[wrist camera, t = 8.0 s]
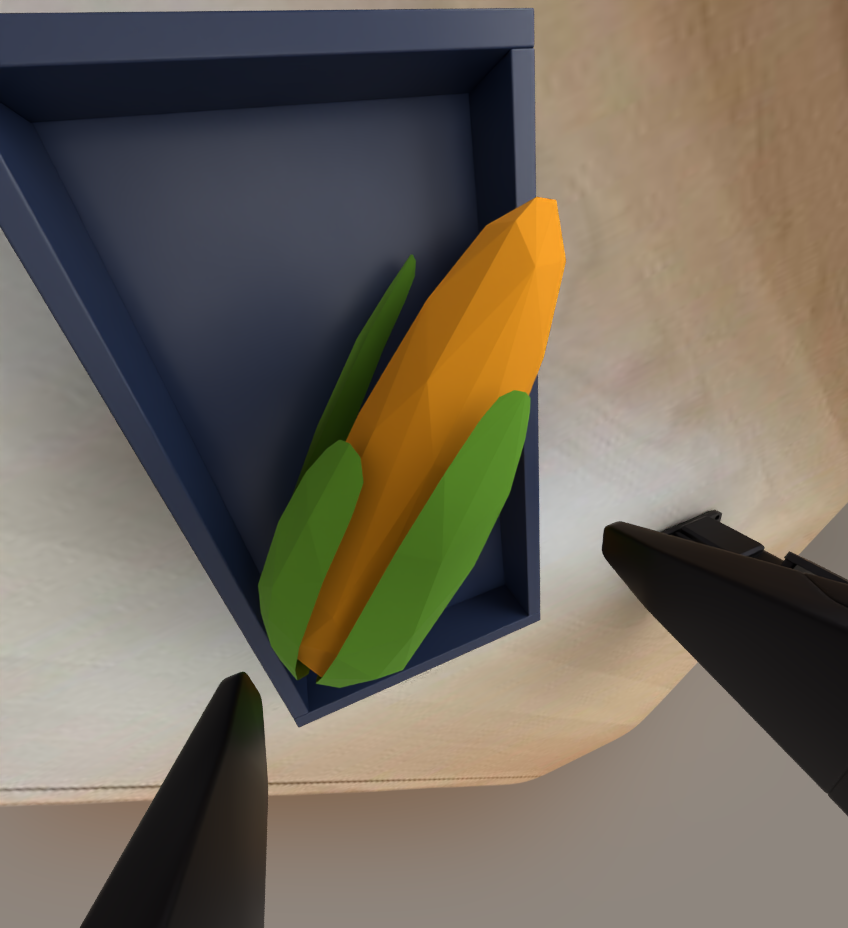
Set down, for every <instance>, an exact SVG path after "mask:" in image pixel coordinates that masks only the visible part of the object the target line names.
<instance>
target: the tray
mask: <svg viewBox="0 0 848 928" xmlns="http://www.w3.org/2000/svg"><path fill="white" fill-rule="evenodd" d="M533 47H534V9H533V8H490V9H390V10H289V11H188V12H88V13H0V227H1V229H2V231H3V232H4V234H5V236H6V237H7V239H8V241H9V242H10V244H11V246H12V248H13V249H14V251H15V253H16V254H17V256H18V258H19V259H20V261H21V263H22V264H23V266H24V268H25V269H26V271H27V273H28V274H29V276H30V278H31V279H32V281H33V283H34V284H35V286H36V288H37V289H38V291H39V293H40V294H41V296H42V298H43V299H44V301H45V303H46V304H47V306H48V308H49V310H50V311H51V313H52V315H53V316H54V318H55V320H56V321H57V323H58V325H59V326H60V328H61V330H62V331H63V333H64V335H65V336H66V338H67V340H68V341H69V343H70V345H71V346H72V348H73V350H74V351H75V353H76V355H77V356H78V358H79V360H80V361H81V363H82V365H83V366H84V368H85V370H86V372H87V373H88V375H89V377H90V378H91V380H92V382H93V383H94V385H95V387H96V388H97V390H98V392H99V393H100V395H101V397H102V398H103V400H104V402H105V403H106V405H107V407H108V408H109V410H110V412H111V413H112V415H113V417H114V418H115V420H116V422H117V423H118V425H119V427H120V428H121V430H122V432H123V434H124V435H125V437H126V439H127V440H128V442H129V444H130V445H131V447H132V449H133V450H134V452H135V454H136V455H137V457H138V459H139V460H140V462H141V464H142V465H143V467H144V469H145V470H146V472H147V474H148V475H149V477H150V479H151V480H152V482H153V484H154V485H155V487H156V489H157V490H158V492H159V494H160V496H161V497H162V499H163V501H164V502H165V504H166V506H167V507H168V509H169V511H170V512H171V514H172V516H173V517H174V519H175V521H176V522H177V524H178V526H179V527H180V529H181V531H182V532H183V534H184V536H185V537H186V539H187V541H188V542H189V544H190V546H191V547H192V549H193V551H194V552H195V554H196V556H197V557H198V559H199V561H200V563H201V564H202V566H203V568H204V569H205V571H206V573H207V574H208V576H209V578H210V579H211V581H212V583H213V584H214V586H215V588H216V589H217V591H218V593H219V594H220V596H221V598H222V599H223V601H224V603H225V604H226V606H227V608H228V609H229V611H230V613H231V614H232V616H233V618H234V619H235V621H236V623H237V625H238V626H239V628H240V630H241V631H242V633H243V635H244V636H245V638H246V640H247V641H248V643H249V645H250V646H251V648H252V650H253V651H254V653H255V655H256V656H257V658H258V660H259V661H260V663H261V665H262V666H263V668H264V670H265V671H266V673H267V675H268V676H269V678H270V680H271V681H272V683H273V685H274V687H275V688H276V690H277V692H278V693H279V695H280V697H281V698H282V700H283V702H284V703H285V705H286V707H287V708H288V710H289V712H290V713H291V715H292V717H293V718H294V721H295V722H296V724H297V726H298V727H301V726H303V725H306V724H308V723H310V722H312V721H315V720H317V719H319V718H321V717H324V716H326V715H328V714H330V713H333V712H335V711H337V710H339V709H342V708H344V707H346V706H348V705H351V704H353V703H355V702H357V701H360V700H362V699H364V698H366V697H369V696H371V695H373V694H375V693H378V692H380V691H382V690H384V689H386V688H389V687H391V686H393V685H395V684H398V683H400V682H402V681H404V680H407V679H409V678H411V677H413V676H416V675H418V674H420V673H422V672H425V671H427V670H429V669H431V668H434V667H436V666H438V665H440V664H443V663H445V662H447V661H449V660H452V659H454V658H456V657H458V656H461V655H463V654H465V653H467V652H470V651H472V650H474V649H476V648H479V647H481V646H483V645H485V644H487V643H490V642H492V641H494V640H496V639H499V638H501V637H503V636H505V635H508V634H510V633H512V632H514V631H517V630H519V629H521V628H523V627H526V626H528V625H530V624H532V623H535V622H537V621H539V620H540V549H539V450H538V373H537V376H536V378H535V381H534V384H533V386H532V389H531V391H530V394H529V397H530V414H529V420H528V426H527V432H526V438H525V442H524V445H523V449H522V452H521V456H520V459H519V463H518V466H517V469H516V473H515V476H514V480H513V483H512V487H511V490H510V493H509V495H508V497H507V500H506V502H505V504H504V506H503V508H502V510H501V512H500V514H499V516H498V518H497V520H496V522H495V524H494V526H493V528H492V530H491V532H490V535H489V537H488V539H487V541H486V543H485V545H484V547H483V549H482V551H481V553H480V555H479V557H478V559H477V561H476V563H475V565H474V567H473V568H472V570H471V571H470V573H469V574H468V576H467V577H466V579H465V580H464V581H463V583H462V584H461V586H460V587H459V589H458V590H457V592H456V593H455V595H454V596H453V597H452V599H451V600H450V602H449V603H448V605H447V606H446V608H445V609H444V611H443V612H442V614H441V615H440V616H439V618H438V619H437V621H436V622H435V624H434V625H433V627H432V628H431V630H430V631H429V632H428V634H427V635H426V637H425V638H424V640H423V641H422V643H421V644H420V646H419V647H418V649H417V650H416V651H415V653H414V654H413V656H412V657H411V659H410V660H409V662H408V663H407V665H406V666H405V668H404V669H403V670H402V671H399V672H396V673H393V674H390V675H387V676H384V677H381V678H378V679H375V680H371V681H367V682H363V683H358V684H354V685H350V686H345V687H341V688H338V687H332V686H326V685H321V684H316V680H317V676H318V675H317V674H316V673H315V672H314V671H312V670H311V669H310V671H309V674H308V675H306V676H305V677H303V678H301V679H300V680H298V681H297V680H296V678H295V677H294V676H293V675H292V674H291V672H290V671H289V670H288V669H287V668H286V666H285V665H284V664H283V663H282V661H281V660H280V659H279V657H278V656H277V654H276V653H275V651H274V650H273V648H272V647H271V644H270V641H269V638H268V634H267V631H266V628H265V625H264V621H263V618H262V615H261V608H260V598H259V588H258V584H259V580H260V577H261V574H262V571H263V568H264V565H265V562H266V559H267V556H268V552H269V549H270V546H271V543H272V540H273V537H274V534H275V531H276V528H277V525H278V522H279V520H280V518H281V516H282V514H283V512H284V511H285V509H286V507H287V505H288V503H289V502H290V500H291V498H292V495H293V492H294V489H295V486H296V484H297V481H298V478H299V475H300V473H301V470H302V467H303V464H304V461H305V459H306V456H307V453H308V450H309V448H310V445H311V442H312V439H313V436H314V434H315V431H316V428H317V426H318V424H319V421H320V419H321V417H322V415H323V413H324V410H325V408H326V406H327V404H328V402H329V399H330V397H331V395H332V393H333V390H334V388H335V386H336V384H337V382H338V379H339V377H340V375H341V373H342V370H343V368H344V366H345V364H346V362H347V359H348V357H349V355H350V353H351V350H352V348H353V346H354V344H355V342H356V339H357V337H358V336H359V334H360V333H361V331H362V329H363V328H364V326H365V325H366V323H367V321H368V320H369V318H370V316H371V315H372V313H373V312H374V310H375V308H376V307H377V305H378V304H379V302H380V300H381V299H382V297H383V296H384V294H385V292H386V291H387V289H388V287H389V286H390V284H391V283H392V282H393V280H394V279H395V277H396V276H397V274H398V273H399V271H400V270H401V268H402V267H403V265H404V264H405V262H406V261H407V259H408V258H409V256H410V255H413V256H414V258H415V260H416V267H415V277H414V280H413V282H412V285H411V287H410V290H409V293H408V295H407V298H406V300H405V303H404V305H403V307H402V309H401V311H400V314H399V316H398V318H397V320H396V322H395V325H394V327H393V329H392V331H391V334H390V336H389V338H388V340H387V342H386V345H385V347H384V349H383V352H382V354H381V357H380V359H379V362H378V364H377V367H376V369H375V372H374V374H373V377H372V379H371V382H370V384H369V387H368V389H367V392H366V394H365V397H364V399H363V402H362V404H361V407H360V409H359V412H360V411H361V409H362V407H363V406H364V404H365V402H366V401H367V399H368V397H369V396H370V394H371V392H372V391H373V389H374V387H375V386H376V384H377V382H378V381H379V379H380V377H381V376H382V374H383V372H384V370H385V369H386V367H387V365H388V364H389V362H390V360H391V359H392V357H393V355H394V354H395V352H396V350H397V349H398V347H399V345H400V344H401V342H402V340H403V339H404V337H405V335H406V334H407V332H408V330H409V329H410V327H411V325H412V324H413V322H414V320H415V319H416V317H417V315H418V314H419V312H420V310H421V309H422V307H423V305H424V304H425V302H426V300H427V299H428V298H429V296H430V295H431V294H432V293H433V291H434V290H435V289H436V288H437V286H438V285H439V284H440V283H441V281H442V280H443V279H444V278H445V276H446V275H447V274H448V273H449V271H450V270H451V269H452V268H453V266H454V265H455V264H456V263H457V261H458V260H459V259H460V258H461V256H462V255H463V254H464V253H465V251H466V250H467V249H468V248H469V246H470V245H471V244H472V243H473V241H474V240H475V239H476V238H477V236H478V235H479V234H480V233H481V231H482V230H483V229H484V228H485V226H486V225H488V224H489V223H491V222H493V221H495V220H497V219H498V218H500V217H502V216H504V215H505V214H507V213H509V212H511V211H512V210H514V209H516V208H518V207H520V206H521V205H523V204H525V203H527V202H528V201H530V200H532V199H534V198H535V197H536V154H535V56H534V48H533ZM359 412H358V414H359ZM358 414H357V416H358ZM356 418H357V417H356ZM355 420H356V419H355ZM354 423H355V422H354ZM353 425H354V424H353Z"/></svg>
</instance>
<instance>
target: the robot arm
mask: <svg viewBox="0 0 848 928" xmlns="http://www.w3.org/2000/svg"><path fill="white" fill-rule="evenodd" d="M721 516H722V513H721V512H719V511H717V510H713V511H710V512H708V513H705V514H703V515H701V516H698V517H696V518H693V519H691V520H689V521H686V522H684V523H681V524H679V525H677V526H674V527H672V528H670V529H667V530H665V531H662V532H658V531H654V530H651V529H647V528H643V527H640V526H636V525H633V524H629V523H625V522H621V521H619V522H615V523H613V524H610V525H608V526H606V527H605V529H604V534H603V544H602V552H603V555H604V557H605V559H606V560H607V561H608V563H609V564H610V565H611V566H612V568H613V569H614V570H615V571H616V572H617V574H618V575H619V576H620V577H621V579H622V580H623V581H624V582H625V584H626V585H627V586H628V587H629V588H630V590H631V591H632V592H633V593H634V595H635V596H636V597H637V598H638V600H639V601H640V602H641V603H642V604H643V605H644V607H645V608H646V609H647V610H648V611H649V612H650V613H651V614H652V615H653V616H654V617H655V618H656V619H657V620H658V621H659V622H660V623H661V624H662V625H663V626H664V627H665V629H666V630H667V631H668V632H669V633H670V634H671V635H672V636H673V637H674V638H675V639H676V640H677V641H678V642H679V643H680V644H681V645H682V646H683V647H684V648H685V649H686V650H687V651H688V652H689V653H690V654H691V655H692V656H693V657H694V658H695V659H696V660H697V661H698V662H699V663H700V664H701V665H702V666H703V668H705V670H706V671H707V672H708V673H709V674H710V675H711V676H712V677H713V678H714V679H715V680H716V681H717V682H718V683H719V684H720V685H721V686H722V687H723V688H724V689H725V690H726V691H727V692H728V693H729V694H730V695H731V696H732V697H733V698H734V699H735V700H736V701H737V702H738V703H739V704H740V705H741V707H742V708H743V709H744V710H745V711H746V712H747V713H748V714H749V715H750V716H751V717H752V718H753V719H754V720H755V721H756V722H757V723H758V724H759V725H760V726H761V727H762V728H763V729H764V730H765V731H766V732H767V733H768V734H769V735H770V736H771V737H772V738H773V739H774V740H775V741H776V742H777V743H778V745H779V746H780V747H782V749H783V750H784V751H785V752H786V753H787V754H788V755H789V756H790V757H791V758H792V759H793V760H794V761H795V762H796V763H797V764H798V765H799V766H800V767H801V768H802V769H803V770H804V771H805V772H806V773H807V774H808V775H809V776H810V777H811V778H812V779H813V780H814V781H815V782H816V783H817V784H818V786H820V788H821V789H822V790H823V791H824V792H826V793H828V796H829V797H830V798H831V799H832V800H833V801H834V802H835V803H836V804H837V805H838V806H839V807H840V808H841V809H842V810H843V812H844V813H845V814H846V815H847V816H848V580H847V579H845V578H843V577H841V576H839V575H837V574H835V573H833V572H831V571H829V570H827V569H825V568H823V567H821V566H819V565H817V564H815V563H813V562H811V561H809V560H807V559H805V558H802V557H800V556H798V555H796V554H794V553H792V552H790V551H789V552H788V554H787V555H786V556H785V557H784V558H785V560H784V561H783V560H781V559H780V558H778V557H776V556H774V555H772V554H770V553H768V552H767V551H765V550H764V546H763V545H762V544H760V543H759V542H757V541H755V540H753V539H751V538H749V537H747V536H745V535H743V534H741V533H740V532H738V531H736V530H734V529H732V528H730V527H728V526H726V525H724V524H722V523H721V522H720V520H721ZM267 812H268V777H267V762H266V748H265V734H264V720H263V706H262V699H261V696H260V693H259V692H258V690H257V689H256V687H255V685H254V684H253V682H252V681H251V679H250V678H249V676H248V675H247V674H246V673H245V672H240V673H237V674H235V675H232V676H230V677H227V678H225V679H224V680H223V681H222V682H221V683H220V685H219V686H218V688H217V690H216V691H215V693H214V695H213V697H212V698H211V700H210V702H209V704H208V705H207V707H206V709H205V711H204V712H203V714H202V716H201V718H200V719H199V721H198V723H197V724H196V726H195V728H194V730H193V731H192V733H191V735H190V737H189V738H188V740H187V742H186V744H185V745H184V747H183V749H182V751H181V752H180V754H179V756H178V758H177V759H176V761H175V763H174V765H173V766H172V768H171V770H170V771H169V773H168V775H167V777H166V778H165V780H164V782H163V784H162V785H161V787H160V789H159V791H158V792H157V794H156V796H155V798H154V799H153V801H152V803H151V805H150V806H149V808H148V810H147V812H146V813H145V815H144V817H143V818H142V820H141V822H140V824H139V826H138V827H137V829H136V831H135V832H134V834H133V836H132V838H131V839H130V841H129V843H128V845H127V846H126V848H125V850H124V852H123V853H122V855H121V857H120V858H119V861H118V862H117V864H116V865H115V867H114V869H113V871H112V872H111V874H110V876H109V878H108V879H107V881H106V883H105V885H104V887H103V888H102V890H101V892H100V893H99V895H98V897H97V899H96V900H95V902H94V904H93V905H92V907H91V909H90V911H89V913H88V914H87V916H86V918H85V919H84V921H83V923H82V925H81V926H80V928H264V909H265V908H264V906H265V876H266V846H267V814H268V813H267Z"/></svg>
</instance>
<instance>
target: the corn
mask: <svg viewBox="0 0 848 928" xmlns="http://www.w3.org/2000/svg"><path fill="white" fill-rule="evenodd" d="M565 263H566V258H565V252H564V245H563V239H562V233H561V227H560V221H559V214H558V208H557V202H556V200H552V199H546V198H540V197H535V198H534V199H532V200H530V201H528V202H527V203H525V204H523V205H521V206H520V207H518V208H516V209H514V210H512V211H511V212H509V213H507V214H505V215H504V216H502V217H500V218H498V219H497V220H495V221H493V222H491V223H489V224H488V225H486V226H485V228H484V229H483V230H482V231H481V233H480V234H479V235H478V236H477V238H476V239H475V240H474V241H473V243H472V244H471V245H470V246H469V248H468V249H467V250H466V251H465V253H464V254H463V255H462V256H461V258H460V259H459V260H458V261H457V263H456V264H455V265H454V266H453V268H452V269H451V270H450V271H449V273H448V274H447V275H446V276H445V278H444V279H443V280H442V281H441V283H440V284H439V285H438V286H437V288H436V289H435V290H434V291H433V293H432V294H431V295H430V296H429V298H428V299H427V300H426V302H425V304H424V305H423V307H422V309H421V310H420V312H419V314H418V315H417V317H416V319H415V320H414V322H413V324H412V325H411V327H410V329H409V330H408V332H407V334H406V335H405V337H404V339H403V340H402V342H401V344H400V345H399V347H398V349H397V350H396V352H395V354H394V355H393V357H392V359H391V360H390V362H389V364H388V365H387V367H386V369H385V370H384V372H383V374H382V376H381V377H380V379H379V381H378V382H377V384H376V386H375V387H374V389H373V391H372V392H371V394H370V396H369V397H368V399H367V401H366V402H365V404H364V406H363V407H362V409H361V411H360V412H359V409H360V407H361V404H362V402H363V399H364V397H365V394H366V392H367V389H368V387H369V384H370V382H371V379H372V377H373V374H374V372H375V369H376V367H377V364H378V362H379V359H380V357H381V354H382V352H383V349H384V347H385V345H386V342H387V340H388V338H389V336H390V334H391V331H392V329H393V327H394V325H395V322H396V320H397V318H398V316H399V314H400V311H401V309H402V307H403V305H404V303H405V300H406V298H407V295H408V293H409V290H410V287H411V285H412V282H413V280H414V277H415V267H416V260H415V258H414V256H413V255H410V256H409V258H408V259H407V261H406V262H405V264H404V265H403V267H402V268H401V270H400V271H399V273H398V274H397V276H396V277H395V279H394V280H393V282H392V283H391V284H390V286H389V287H388V289H387V291H386V292H385V294H384V296H383V297H382V299H381V300H380V302H379V304H378V305H377V307H376V308H375V310H374V312H373V313H372V315H371V316H370V318H369V320H368V321H367V323H366V325H365V326H364V328H363V329H362V331H361V333H360V334H359V336H358V337H357V339H356V342H355V344H354V346H353V348H352V350H351V353H350V355H349V357H348V359H347V362H346V364H345V366H344V368H343V370H342V373H341V375H340V377H339V379H338V382H337V384H336V386H335V388H334V390H333V393H332V395H331V397H330V399H329V402H328V404H327V406H326V408H325V410H324V413H323V415H322V417H321V419H320V421H319V424H318V426H317V428H316V431H315V434H314V436H313V439H312V442H311V445H310V448H309V450H308V453H307V456H306V459H305V461H304V464H303V467H302V470H301V473H300V475H299V478H298V481H297V484H296V486H295V489H294V492H293V495H292V498H291V500H290V502H289V503H288V505H287V507H286V509H285V511H284V512H283V514H282V516H281V518H280V520H279V522H278V525H277V528H276V531H275V534H274V537H273V540H272V543H271V546H270V549H269V552H268V556H267V559H266V562H265V565H264V568H263V571H262V574H261V577H260V580H259V584H258V588H259V598H260V608H261V615H262V618H263V621H264V625H265V628H266V631H267V634H268V638H269V641H270V644H271V647H272V648H273V650H274V651H275V653H276V654H277V656H278V657H279V659H280V660H281V661H282V663H283V664H284V665H285V666H286V668H287V669H288V670H289V671H290V672H291V674H292V675H293V676H294V677H295V678H296V680H297V681H298V680H300V679H301V678H303V677H305V676H306V675H308V674H309V671H310V669H311V670H312V671H314V672H315V673H316V674H317V675H318V676H317V680H316V684H321V685H326V686H332V687H338V688H341V687H345V686H350V685H354V684H358V683H363V682H367V681H371V680H375V679H378V678H381V677H384V676H387V675H390V674H393V673H396V672H399V671H402V670H403V669H404V668H405V666H406V665H407V663H408V662H409V660H410V659H411V657H412V656H413V654H414V653H415V651H416V650H417V649H418V647H419V646H420V644H421V643H422V641H423V640H424V638H425V637H426V635H427V634H428V632H429V631H430V630H431V628H432V627H433V625H434V624H435V622H436V621H437V619H438V618H439V616H440V615H441V614H442V612H443V611H444V609H445V608H446V606H447V605H448V603H449V602H450V600H451V599H452V597H453V596H454V595H455V593H456V592H457V590H458V589H459V587H460V586H461V584H462V583H463V581H464V580H465V579H466V577H467V576H468V574H469V573H470V571H471V570H472V568H473V567H474V565H475V563H476V561H477V559H478V557H479V555H480V553H481V551H482V549H483V547H484V545H485V543H486V541H487V539H488V537H489V535H490V532H491V530H492V528H493V526H494V524H495V522H496V520H497V518H498V516H499V514H500V512H501V510H502V508H503V506H504V504H505V502H506V500H507V497H508V495H509V493H510V490H511V487H512V483H513V480H514V476H515V473H516V469H517V466H518V463H519V459H520V456H521V452H522V449H523V445H524V442H525V438H526V432H527V426H528V420H529V414H530V397H529V394H530V391H531V389H532V386H533V384H534V381H535V378H536V376H537V373H538V371H539V368H540V366H541V363H542V360H543V358H544V354H545V350H546V345H547V341H548V337H549V332H550V328H551V324H552V319H553V315H554V311H555V306H556V302H557V298H558V293H559V289H560V285H561V280H562V276H563V272H564V267H565ZM358 412H359V414H358ZM357 414H358V416H357ZM356 417H357V418H356ZM355 419H356V420H355ZM354 422H355V423H354ZM353 424H354V425H353Z"/></svg>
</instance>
